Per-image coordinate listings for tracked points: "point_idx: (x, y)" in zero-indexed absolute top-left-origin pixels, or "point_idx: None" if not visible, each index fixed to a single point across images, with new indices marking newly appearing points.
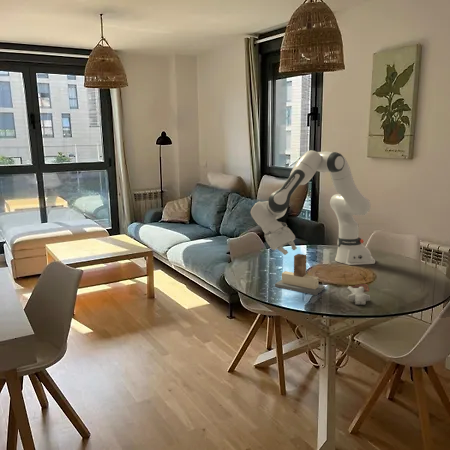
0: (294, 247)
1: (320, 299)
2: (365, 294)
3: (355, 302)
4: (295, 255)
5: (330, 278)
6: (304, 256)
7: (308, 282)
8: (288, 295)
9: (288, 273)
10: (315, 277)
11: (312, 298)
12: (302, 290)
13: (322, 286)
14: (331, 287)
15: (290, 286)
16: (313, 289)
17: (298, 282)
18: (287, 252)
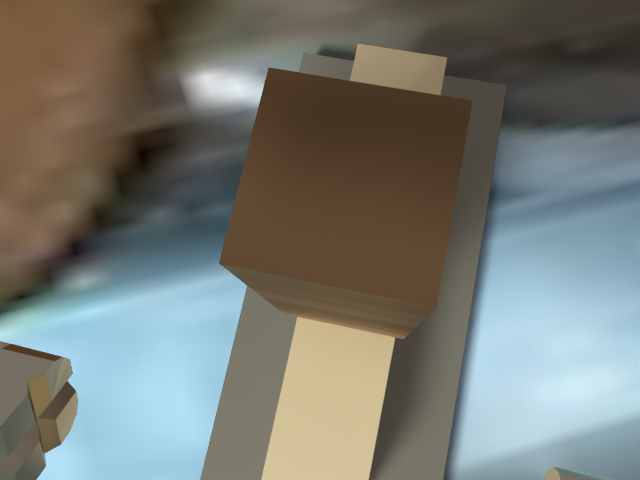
0: (31, 393)
1: (585, 43)
2: None
3: None
4: (389, 284)
5: (4, 83)
6: (364, 87)
7: None
8: (623, 342)
9: (343, 435)
10: (377, 72)
11: (593, 110)
12: (482, 228)
13: (325, 69)
14: (247, 25)
15: (449, 369)
16: None
17: None
18: (592, 477)
